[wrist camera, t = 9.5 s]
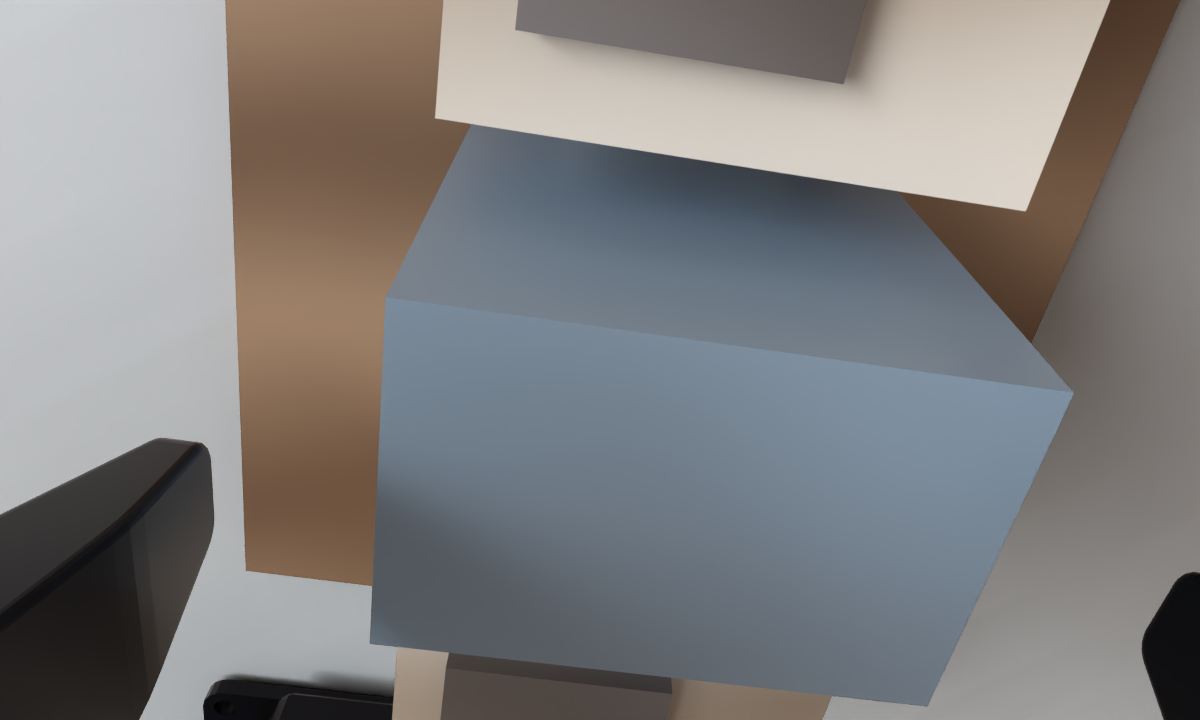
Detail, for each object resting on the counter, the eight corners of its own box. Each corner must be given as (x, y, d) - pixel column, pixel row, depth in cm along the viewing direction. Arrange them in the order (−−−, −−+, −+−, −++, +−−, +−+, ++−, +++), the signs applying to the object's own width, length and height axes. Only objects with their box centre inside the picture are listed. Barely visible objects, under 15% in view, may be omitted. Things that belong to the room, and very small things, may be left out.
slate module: (803, 381, 16) (927, 706, 10) (461, 334, 16) (370, 643, 10) (870, 160, 14) (1074, 393, 8) (483, 100, 14) (385, 297, 8)
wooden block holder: (886, 615, 21) (1002, 932, 15) (262, 539, 20) (108, 844, 14) (1257, -278, 13) (1862, -403, 7) (236, -485, 12) (-164, -857, 6)
